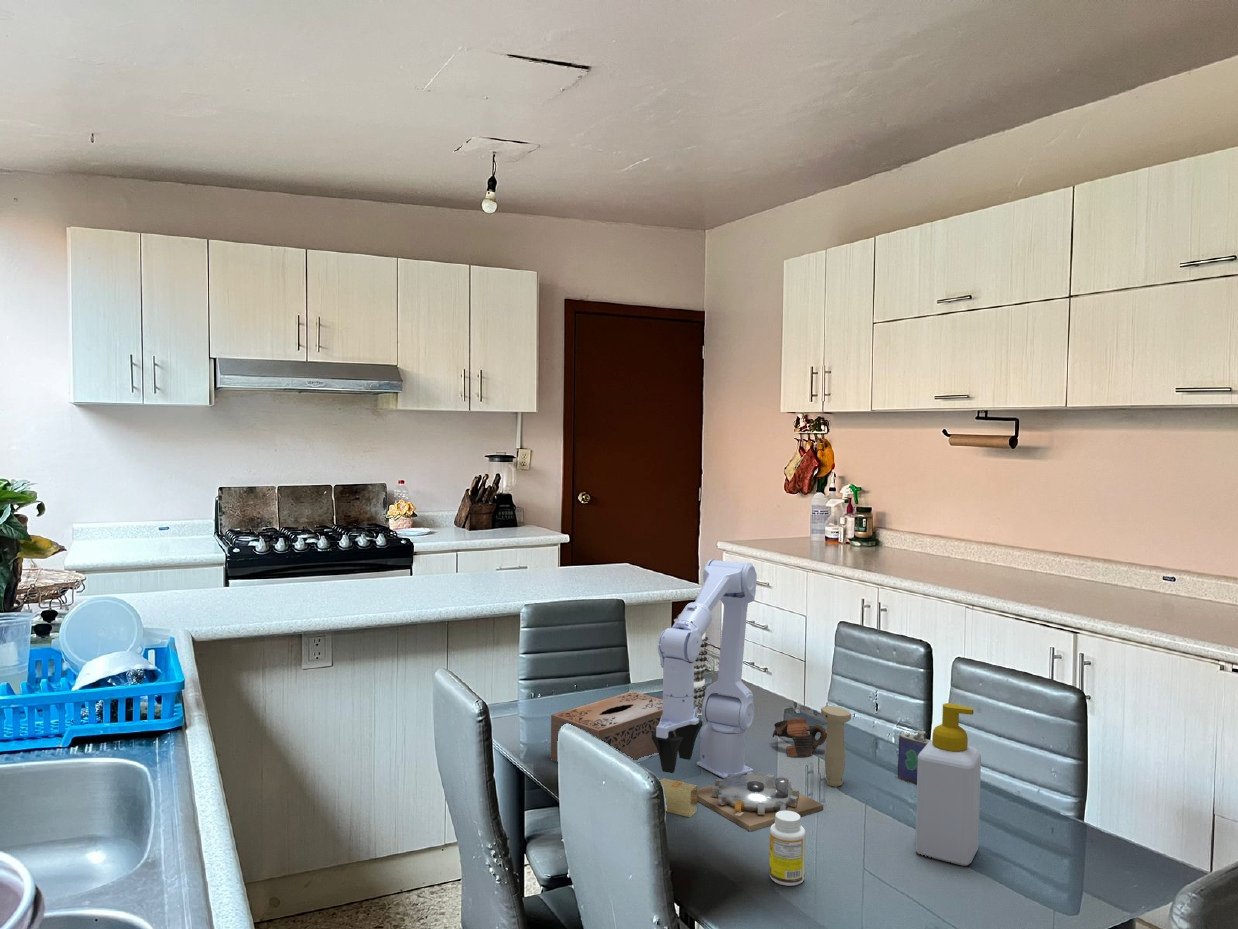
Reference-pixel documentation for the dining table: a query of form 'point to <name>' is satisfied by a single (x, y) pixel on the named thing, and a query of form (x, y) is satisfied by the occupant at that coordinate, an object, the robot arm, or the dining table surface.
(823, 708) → the handle
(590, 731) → the tissue box cover
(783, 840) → the supplement bottle
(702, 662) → the decorative candle
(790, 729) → the pottery mug
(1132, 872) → the dining table surface
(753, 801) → the sprocket
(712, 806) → the sprocket base
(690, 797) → the yellow block
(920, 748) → the flask
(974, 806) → the soap bottle
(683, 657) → the robot arm
